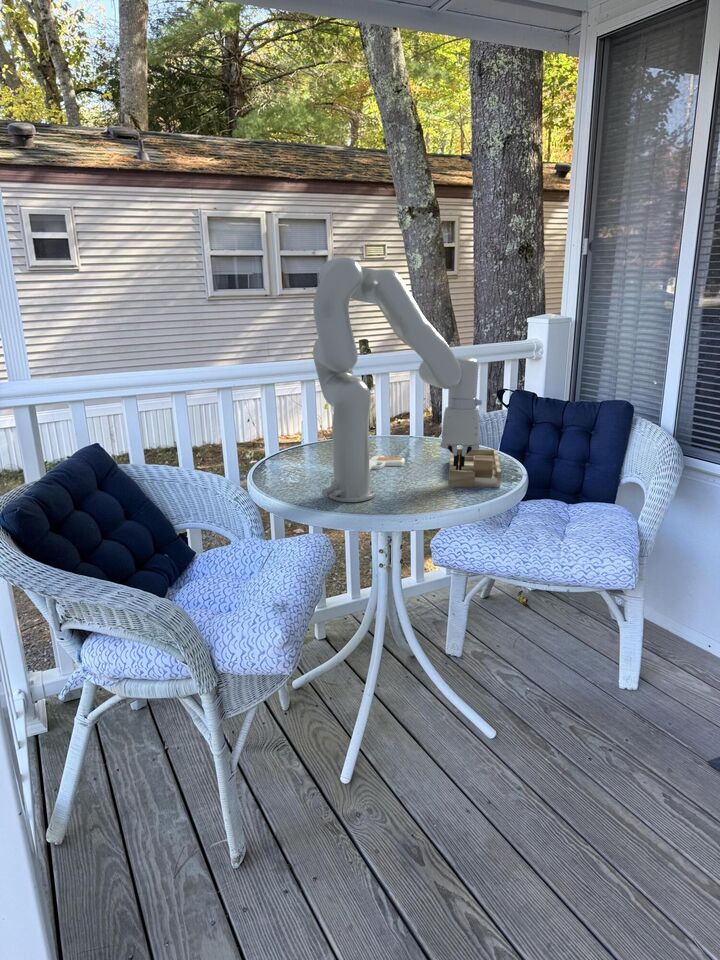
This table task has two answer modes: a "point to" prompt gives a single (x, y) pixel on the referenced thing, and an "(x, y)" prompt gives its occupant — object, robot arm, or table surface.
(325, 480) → the table surface
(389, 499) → the table surface
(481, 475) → the block
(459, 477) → the tray
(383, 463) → the pistol
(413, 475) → the table surface
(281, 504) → the table surface
